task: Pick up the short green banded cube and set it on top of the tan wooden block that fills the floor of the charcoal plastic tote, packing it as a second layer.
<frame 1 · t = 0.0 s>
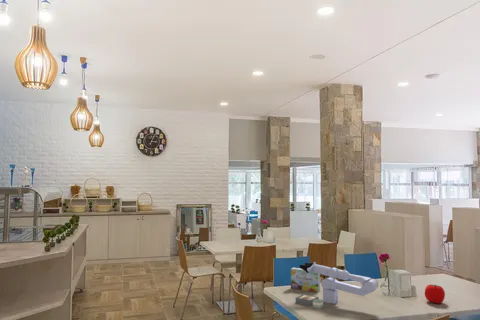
hand: (302, 265, 277), 22 cm above the table, tool horizontal, fingers open, 7 cm apart
green banded cube: (318, 308, 252), on the table
tomato: (434, 302, 267), on the table
tote: (307, 303, 261), on the table
tan wooden block: (307, 302, 262), point 1 cm above the table, touching tote
snack box: (305, 290, 296), on the table
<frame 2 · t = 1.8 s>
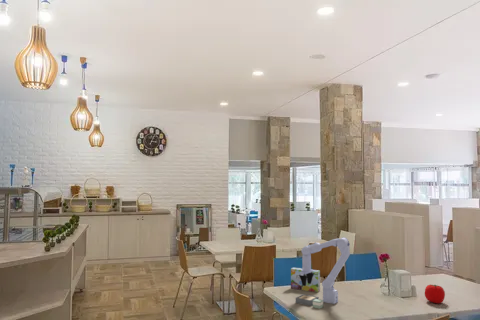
hand: (306, 284, 271), 10 cm above the table, tool pointing down, fingers open, 7 cm apart
nothing on the table moved.
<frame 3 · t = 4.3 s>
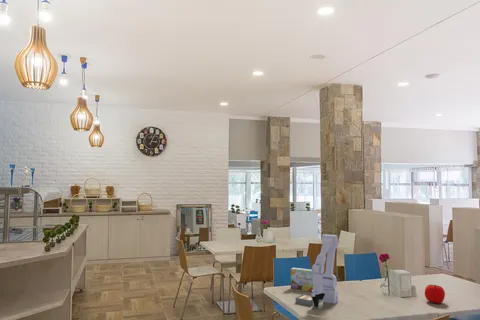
hand: (318, 306, 252), 1 cm above the table, tool pointing down, fingers closed on green banded cube, 5 cm apart
green banded cube: (318, 308, 252), on the table, touching gripper
everything else where it was.
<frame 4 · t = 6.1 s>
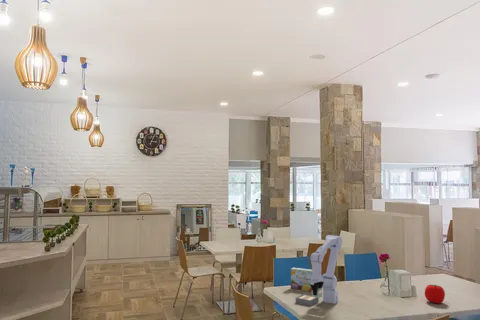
hand: (316, 294, 253), 8 cm above the table, tool pointing down, fingers closed on green banded cube, 5 cm apart
green banded cube: (316, 296, 253), point 7 cm above the table, touching gripper
everything else where it was.
when the fingers open (6 cm above the table, at t = 7.8 s): green banded cube drops 1 cm, resting on tan wooden block.
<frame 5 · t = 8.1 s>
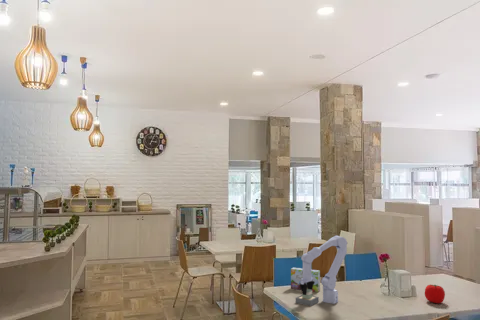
hand: (307, 293, 262), 6 cm above the table, tool pointing down, fingers open, 7 cm apart
green banded cube: (307, 297, 262), point 4 cm above the table, touching tan wooden block
tan wooden block: (307, 302, 262), point 1 cm above the table, touching green banded cube, tote
everything else where it was.
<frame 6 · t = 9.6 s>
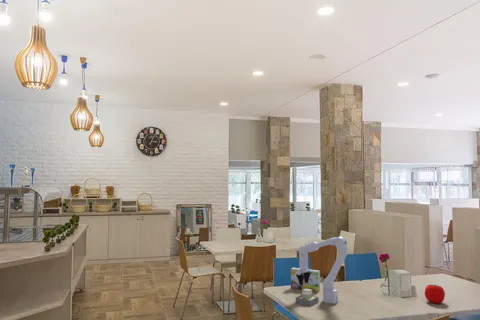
hand: (303, 283, 271), 10 cm above the table, tool pointing down, fingers open, 7 cm apart
nothing on the table moved.
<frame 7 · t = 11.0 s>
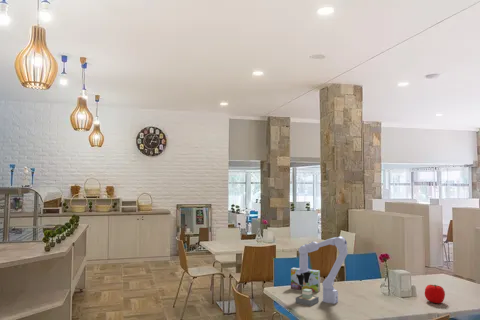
hand: (303, 283, 271), 10 cm above the table, tool pointing down, fingers open, 7 cm apart
nothing on the table moved.
at the end: green banded cube 0.1 cm off-centre on the tote, point 3.8 cm above the tote's base; green banded cube tilted 0°; the gripper is holding nothing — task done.
